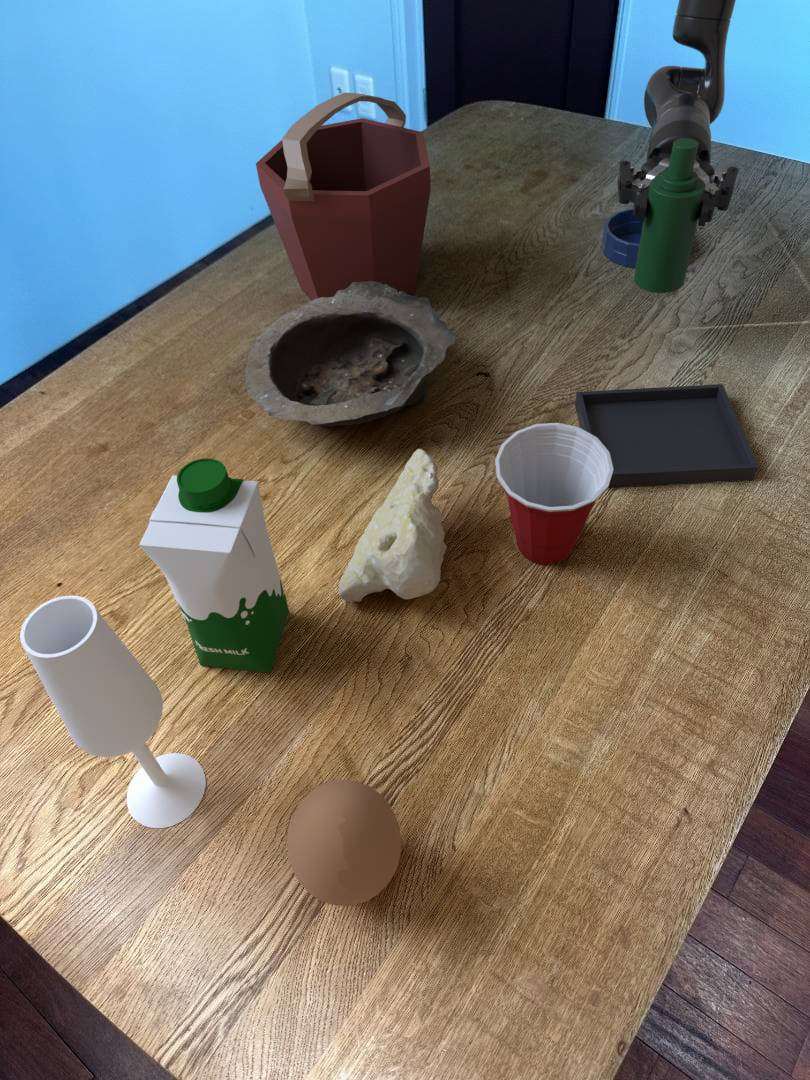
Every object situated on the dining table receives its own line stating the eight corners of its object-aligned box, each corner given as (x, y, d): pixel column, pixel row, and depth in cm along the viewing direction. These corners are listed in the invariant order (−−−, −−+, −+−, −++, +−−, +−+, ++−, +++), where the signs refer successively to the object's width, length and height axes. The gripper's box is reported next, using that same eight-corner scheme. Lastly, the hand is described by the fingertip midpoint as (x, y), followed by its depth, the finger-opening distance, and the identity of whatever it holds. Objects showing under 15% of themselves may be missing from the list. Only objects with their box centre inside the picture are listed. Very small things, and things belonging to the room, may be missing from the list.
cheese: (398, 657, 78) (506, 549, 74) (339, 622, 75) (449, 506, 71) (376, 573, 91) (466, 477, 87) (325, 540, 88) (417, 438, 84)
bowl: (668, 230, 123) (673, 205, 120) (686, 269, 116) (692, 243, 113) (596, 235, 124) (599, 210, 121) (608, 274, 116) (612, 248, 113)
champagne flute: (213, 752, 71) (125, 582, 53) (197, 829, 66) (95, 672, 48) (137, 752, 71) (25, 583, 53) (117, 828, 67) (-14, 672, 49)
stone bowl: (487, 367, 103) (486, 307, 96) (377, 500, 92) (367, 443, 84) (332, 312, 113) (320, 253, 106) (215, 426, 101) (193, 369, 94)
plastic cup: (486, 581, 81) (488, 498, 72) (497, 503, 88) (500, 418, 79) (596, 592, 79) (613, 509, 70) (599, 512, 86) (614, 426, 77)
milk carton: (300, 605, 81) (262, 458, 66) (277, 684, 75) (229, 542, 60) (216, 597, 82) (160, 451, 67) (187, 674, 76) (118, 532, 61)
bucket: (339, 351, 108) (312, 162, 89) (244, 289, 119) (202, 110, 101) (468, 277, 118) (469, 93, 99) (370, 226, 129) (353, 53, 111)
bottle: (677, 265, 102) (707, 129, 89) (689, 291, 98) (721, 153, 85) (629, 268, 102) (652, 133, 90) (639, 294, 98) (663, 157, 86)
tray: (718, 397, 97) (722, 383, 96) (753, 480, 88) (758, 467, 87) (574, 404, 98) (576, 391, 97) (594, 488, 89) (596, 475, 87)
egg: (407, 816, 66) (398, 753, 57) (402, 925, 60) (392, 873, 52) (306, 814, 66) (283, 751, 58) (292, 922, 61) (264, 870, 53)
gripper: (624, 116, 100) (612, 179, 90) (747, 121, 97) (748, 187, 87) (616, 176, 106) (603, 242, 96) (731, 182, 103) (731, 252, 93)
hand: (672, 216), depth 91 cm, fingers closed on bottle, 6 cm apart
